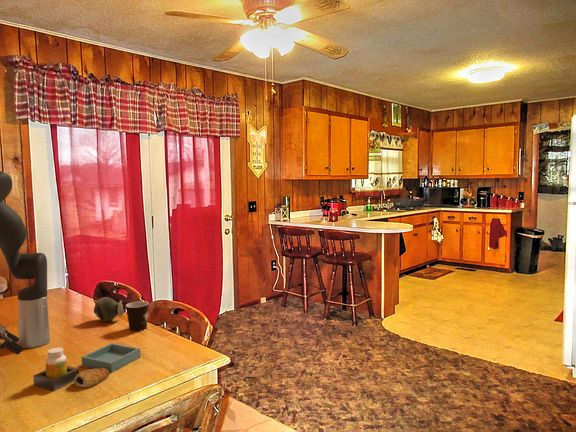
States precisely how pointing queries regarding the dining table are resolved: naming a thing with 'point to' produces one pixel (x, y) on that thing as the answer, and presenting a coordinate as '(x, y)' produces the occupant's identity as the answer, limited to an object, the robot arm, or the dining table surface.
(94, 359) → the tray
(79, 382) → the pastry
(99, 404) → the dining table surface
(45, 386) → the collar
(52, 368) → the supplement bottle
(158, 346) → the dining table surface
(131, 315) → the coffee mug
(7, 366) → the dining table surface
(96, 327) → the dining table surface
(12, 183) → the robot arm
